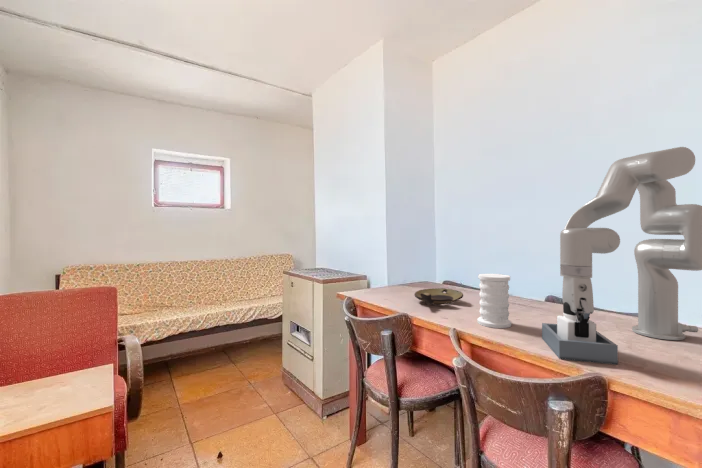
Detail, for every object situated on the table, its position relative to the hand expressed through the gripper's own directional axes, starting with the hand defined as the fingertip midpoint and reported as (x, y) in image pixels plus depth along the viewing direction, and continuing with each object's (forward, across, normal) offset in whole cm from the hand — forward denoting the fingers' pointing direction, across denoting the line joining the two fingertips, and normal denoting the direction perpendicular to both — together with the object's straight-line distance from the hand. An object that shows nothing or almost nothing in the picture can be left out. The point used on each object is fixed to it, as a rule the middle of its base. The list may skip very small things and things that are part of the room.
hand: (576, 331), depth 91 cm
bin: (+5, 0, 0) cm, 5 cm away
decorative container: (+5, +22, +19) cm, 30 cm away
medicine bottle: (+4, 0, 0) cm, 4 cm away
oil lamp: (+6, +50, +42) cm, 66 cm away
